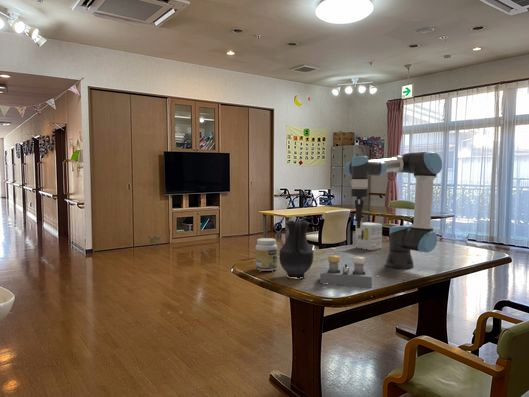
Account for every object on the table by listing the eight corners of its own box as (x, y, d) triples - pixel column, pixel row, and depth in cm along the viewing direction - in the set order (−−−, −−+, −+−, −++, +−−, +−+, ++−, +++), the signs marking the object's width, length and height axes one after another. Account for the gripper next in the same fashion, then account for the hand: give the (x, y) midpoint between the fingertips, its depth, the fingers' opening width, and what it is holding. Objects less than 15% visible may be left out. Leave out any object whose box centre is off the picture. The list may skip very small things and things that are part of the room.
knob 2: (364, 272, 193) (364, 256, 192) (364, 274, 188) (364, 259, 187) (353, 271, 194) (353, 256, 194) (352, 274, 189) (353, 258, 189)
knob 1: (339, 270, 196) (339, 255, 196) (338, 273, 191) (339, 257, 190) (328, 269, 197) (328, 255, 197) (327, 272, 192) (327, 257, 192)
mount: (371, 280, 196) (371, 270, 195) (371, 287, 184) (371, 276, 184) (322, 277, 202) (322, 267, 201) (320, 283, 190) (320, 273, 190)
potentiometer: (349, 273, 191) (349, 263, 191) (348, 274, 188) (348, 265, 188) (343, 272, 192) (343, 263, 192) (342, 274, 189) (342, 264, 189)
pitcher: (311, 273, 211) (312, 217, 209) (315, 283, 190) (315, 222, 188) (279, 272, 212) (279, 217, 210) (279, 283, 191) (279, 222, 189)
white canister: (355, 247, 283) (355, 223, 282) (366, 245, 291) (367, 222, 290) (370, 250, 273) (370, 225, 271) (382, 248, 281) (382, 223, 279)
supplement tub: (270, 273, 210) (270, 242, 209) (251, 270, 216) (251, 240, 215) (281, 268, 221) (281, 238, 220) (262, 266, 227) (262, 237, 226)
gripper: (352, 187, 201) (352, 229, 203) (350, 189, 178) (349, 236, 179) (367, 187, 200) (367, 229, 201) (367, 189, 176) (366, 237, 177)
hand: (358, 232), depth 190 cm, fingers open, 12 cm apart
